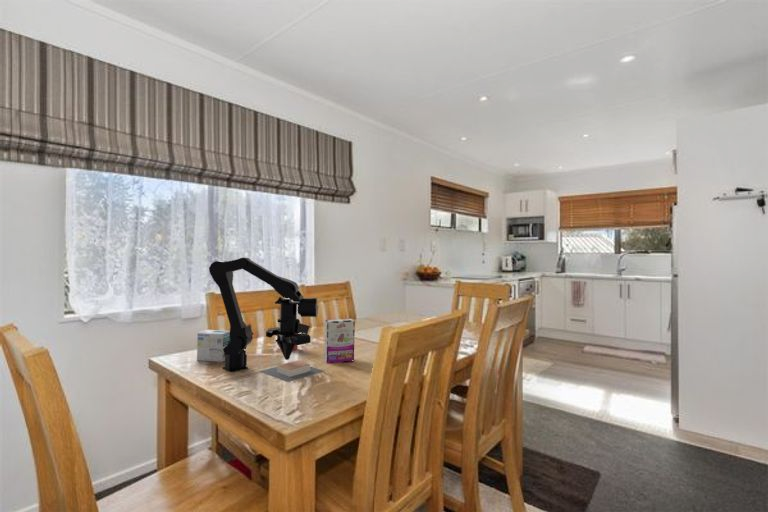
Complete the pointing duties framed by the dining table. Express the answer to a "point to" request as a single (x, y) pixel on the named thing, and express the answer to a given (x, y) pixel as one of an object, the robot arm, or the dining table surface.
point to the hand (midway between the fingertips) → (287, 359)
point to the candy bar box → (339, 340)
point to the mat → (285, 378)
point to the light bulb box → (212, 345)
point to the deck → (293, 368)
